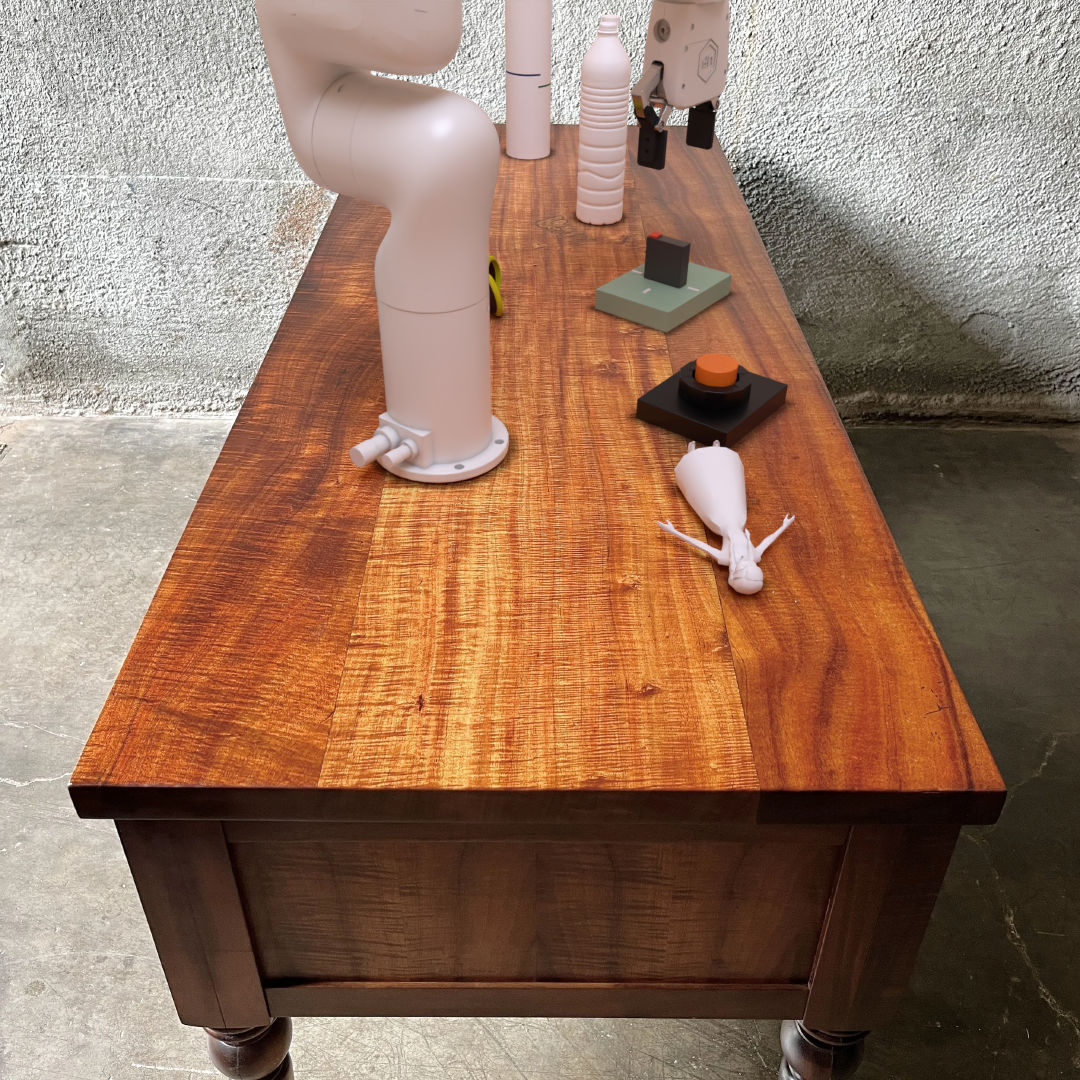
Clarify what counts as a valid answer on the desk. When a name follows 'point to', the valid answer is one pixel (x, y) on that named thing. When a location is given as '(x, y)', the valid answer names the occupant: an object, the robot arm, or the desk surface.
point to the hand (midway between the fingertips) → (675, 156)
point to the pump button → (716, 370)
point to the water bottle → (603, 126)
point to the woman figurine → (722, 512)
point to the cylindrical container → (528, 77)
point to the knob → (666, 260)
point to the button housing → (711, 406)
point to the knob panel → (662, 296)
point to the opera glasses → (495, 287)
